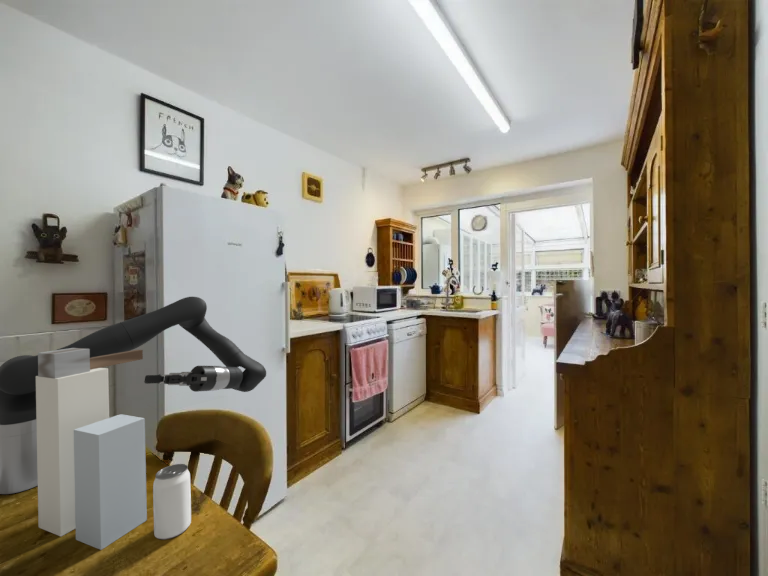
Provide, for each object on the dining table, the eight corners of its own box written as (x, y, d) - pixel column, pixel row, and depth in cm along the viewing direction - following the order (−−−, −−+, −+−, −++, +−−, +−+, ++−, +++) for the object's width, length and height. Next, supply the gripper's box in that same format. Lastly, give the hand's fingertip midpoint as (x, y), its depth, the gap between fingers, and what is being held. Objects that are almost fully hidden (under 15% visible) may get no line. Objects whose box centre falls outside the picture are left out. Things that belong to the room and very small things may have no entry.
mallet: (38, 376, 69) (37, 352, 69) (132, 358, 86) (132, 339, 86) (54, 378, 67) (54, 354, 67) (147, 359, 84) (147, 340, 84)
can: (173, 542, 64) (172, 481, 64) (145, 538, 65) (144, 478, 65) (198, 519, 70) (197, 464, 70) (172, 516, 71) (171, 461, 71)
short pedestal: (75, 539, 65) (73, 429, 65) (122, 512, 73) (120, 414, 73) (101, 549, 62) (98, 435, 62) (146, 520, 70) (144, 418, 70)
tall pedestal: (38, 527, 69) (35, 376, 69) (89, 501, 77) (86, 366, 77) (60, 536, 66) (57, 379, 66) (111, 508, 74) (108, 368, 75)
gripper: (196, 365, 105) (141, 365, 90) (227, 365, 99) (174, 364, 85) (192, 390, 103) (136, 393, 89) (224, 391, 97) (169, 395, 83)
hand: (155, 379), depth 87 cm, fingers open, 8 cm apart
